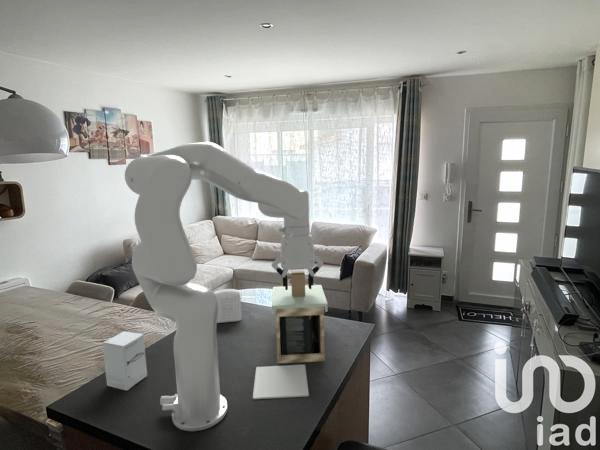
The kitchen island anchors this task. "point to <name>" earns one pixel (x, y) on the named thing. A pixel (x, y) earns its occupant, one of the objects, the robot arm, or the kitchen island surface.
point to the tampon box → (298, 334)
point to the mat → (280, 382)
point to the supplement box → (124, 360)
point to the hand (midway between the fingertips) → (298, 287)
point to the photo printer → (228, 305)
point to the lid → (298, 294)
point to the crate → (319, 334)
